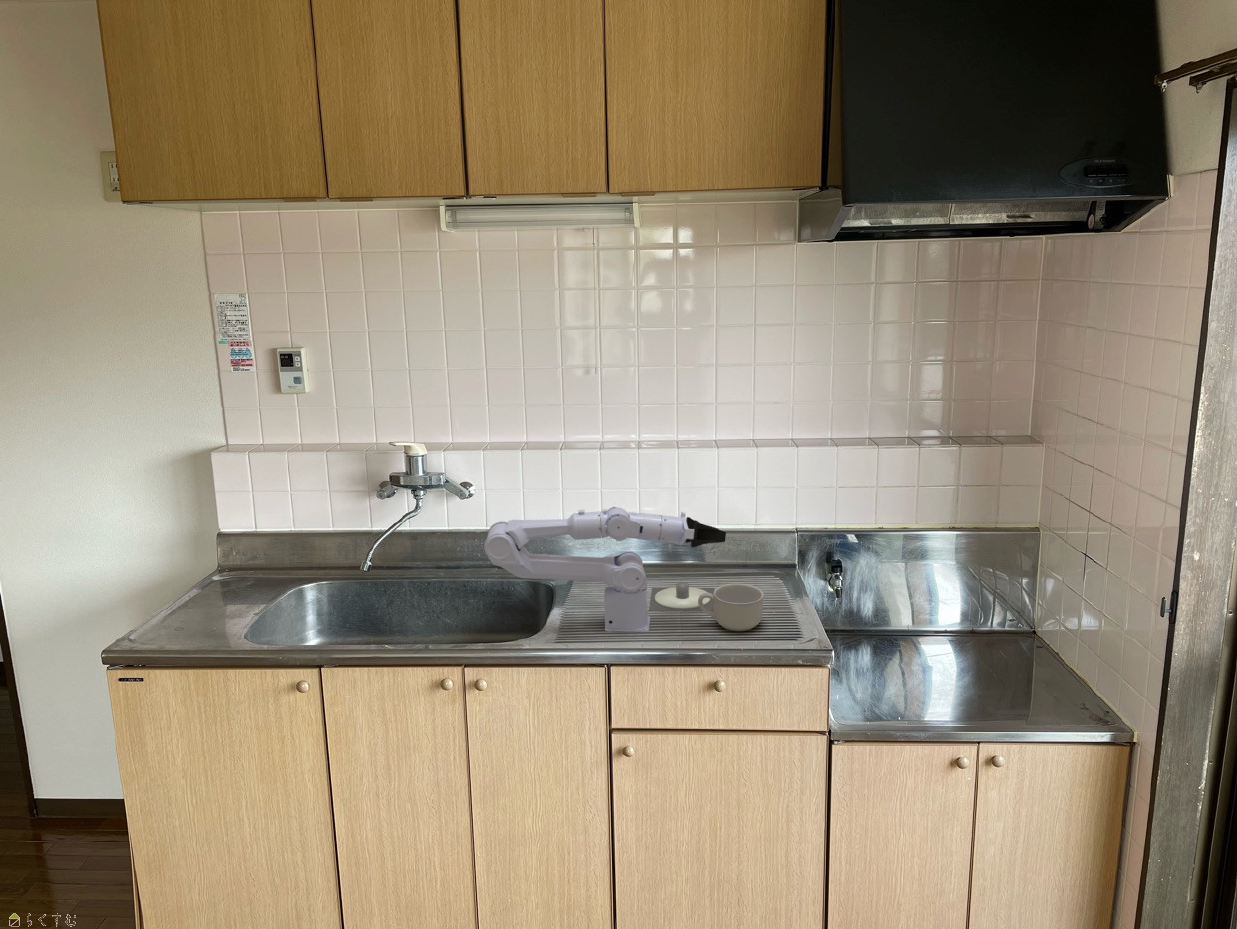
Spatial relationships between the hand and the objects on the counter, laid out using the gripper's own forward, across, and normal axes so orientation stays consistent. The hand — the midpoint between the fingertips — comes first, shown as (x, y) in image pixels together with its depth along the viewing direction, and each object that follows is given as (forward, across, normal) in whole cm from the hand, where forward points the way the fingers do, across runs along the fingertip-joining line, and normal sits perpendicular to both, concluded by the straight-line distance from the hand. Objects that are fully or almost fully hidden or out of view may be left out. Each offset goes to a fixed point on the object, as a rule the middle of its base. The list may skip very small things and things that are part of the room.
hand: (721, 535), depth 198 cm
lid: (-4, +17, +17) cm, 25 cm away
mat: (-4, +17, +18) cm, 25 cm away
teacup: (+5, +1, +20) cm, 20 cm away
